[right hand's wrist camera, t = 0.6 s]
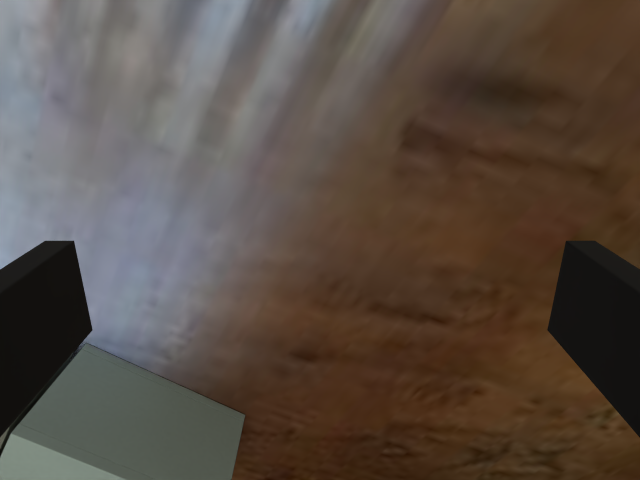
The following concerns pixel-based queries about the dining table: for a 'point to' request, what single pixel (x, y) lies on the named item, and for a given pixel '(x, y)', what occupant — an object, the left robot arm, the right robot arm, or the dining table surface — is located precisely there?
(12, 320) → the right robot arm
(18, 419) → the drawer
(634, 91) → the dining table surface
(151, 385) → the cabinet
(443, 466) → the dining table surface
